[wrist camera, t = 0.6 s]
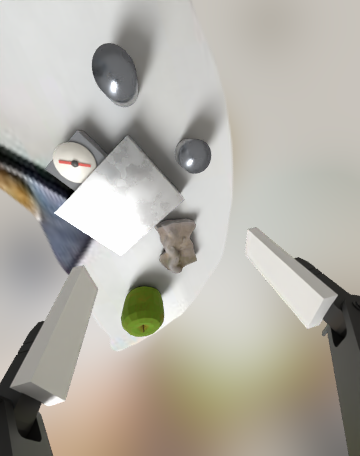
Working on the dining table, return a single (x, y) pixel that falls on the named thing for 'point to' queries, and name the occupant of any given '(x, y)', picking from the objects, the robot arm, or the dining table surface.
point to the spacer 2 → (193, 155)
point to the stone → (176, 243)
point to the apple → (142, 311)
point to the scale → (79, 160)
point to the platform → (121, 199)
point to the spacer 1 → (115, 74)
